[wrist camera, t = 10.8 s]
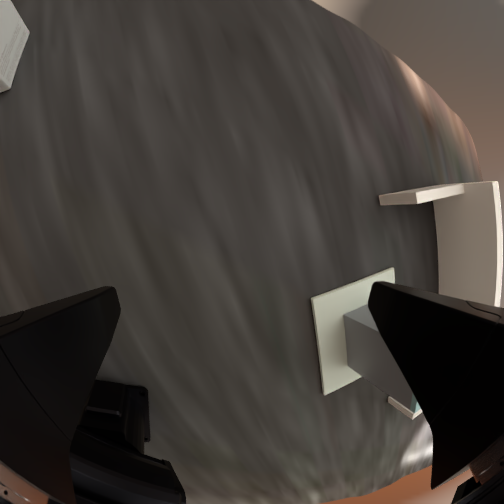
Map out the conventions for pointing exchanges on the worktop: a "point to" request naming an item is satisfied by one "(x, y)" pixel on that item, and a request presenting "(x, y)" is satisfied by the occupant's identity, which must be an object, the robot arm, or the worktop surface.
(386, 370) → the grey teal block
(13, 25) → the supplement box
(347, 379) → the mat
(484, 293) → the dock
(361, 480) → the worktop surface
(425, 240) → the worktop surface
